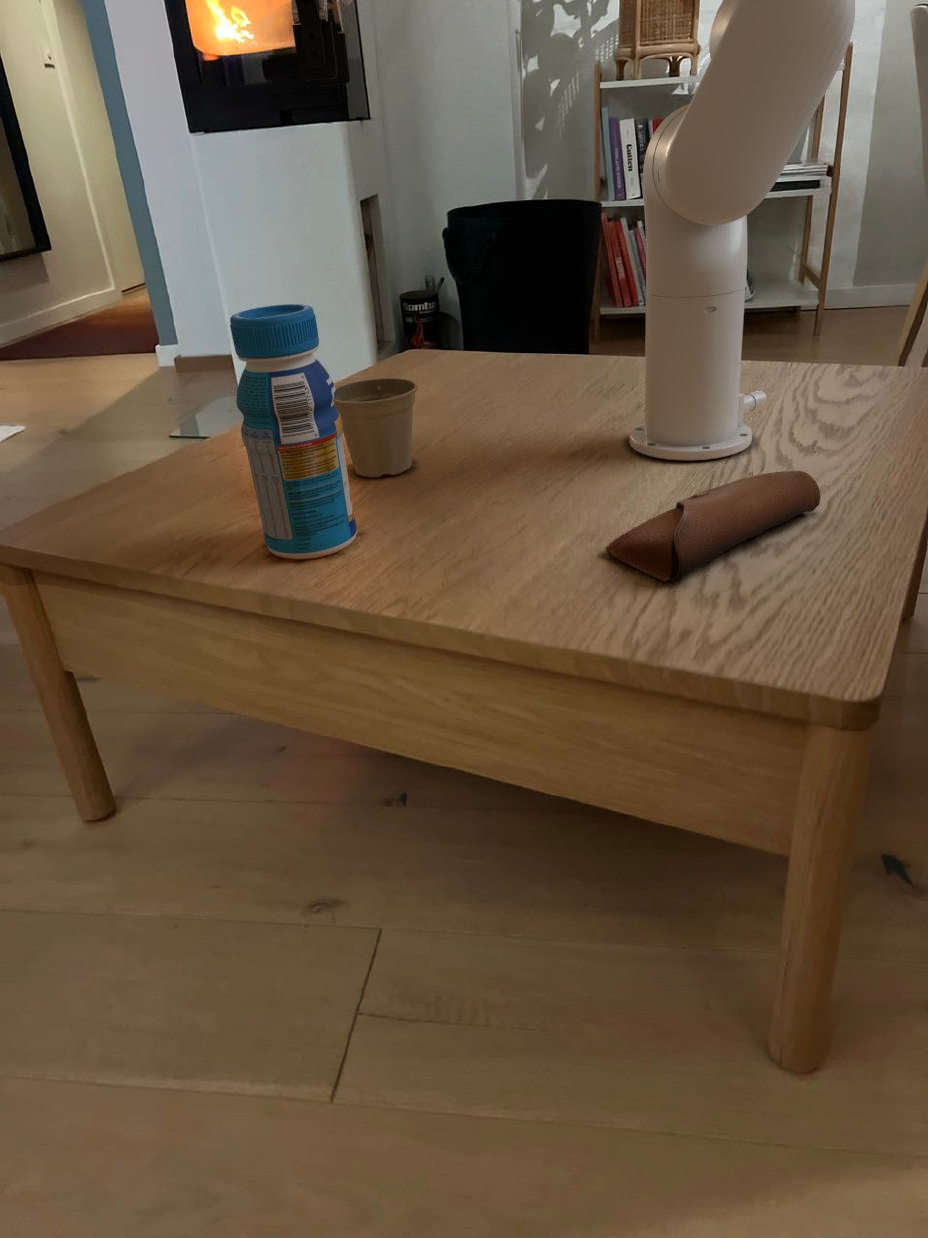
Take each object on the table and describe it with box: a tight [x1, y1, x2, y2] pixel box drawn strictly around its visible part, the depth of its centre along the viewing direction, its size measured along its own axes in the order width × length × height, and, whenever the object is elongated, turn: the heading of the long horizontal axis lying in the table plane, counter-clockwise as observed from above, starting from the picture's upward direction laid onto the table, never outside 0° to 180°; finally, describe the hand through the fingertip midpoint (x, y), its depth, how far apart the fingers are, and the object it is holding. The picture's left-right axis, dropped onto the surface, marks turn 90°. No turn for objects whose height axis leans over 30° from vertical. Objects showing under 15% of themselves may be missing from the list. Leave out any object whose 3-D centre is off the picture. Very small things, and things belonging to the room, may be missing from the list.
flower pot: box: [334, 377, 419, 479], centre depth 95 cm, size 9×9×9 cm
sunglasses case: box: [605, 470, 821, 583], centre depth 74 cm, size 18×7×7 cm
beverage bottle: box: [229, 303, 358, 560], centre depth 76 cm, size 8×8×20 cm
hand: (326, 81), depth 81 cm, fingers open, 9 cm apart
